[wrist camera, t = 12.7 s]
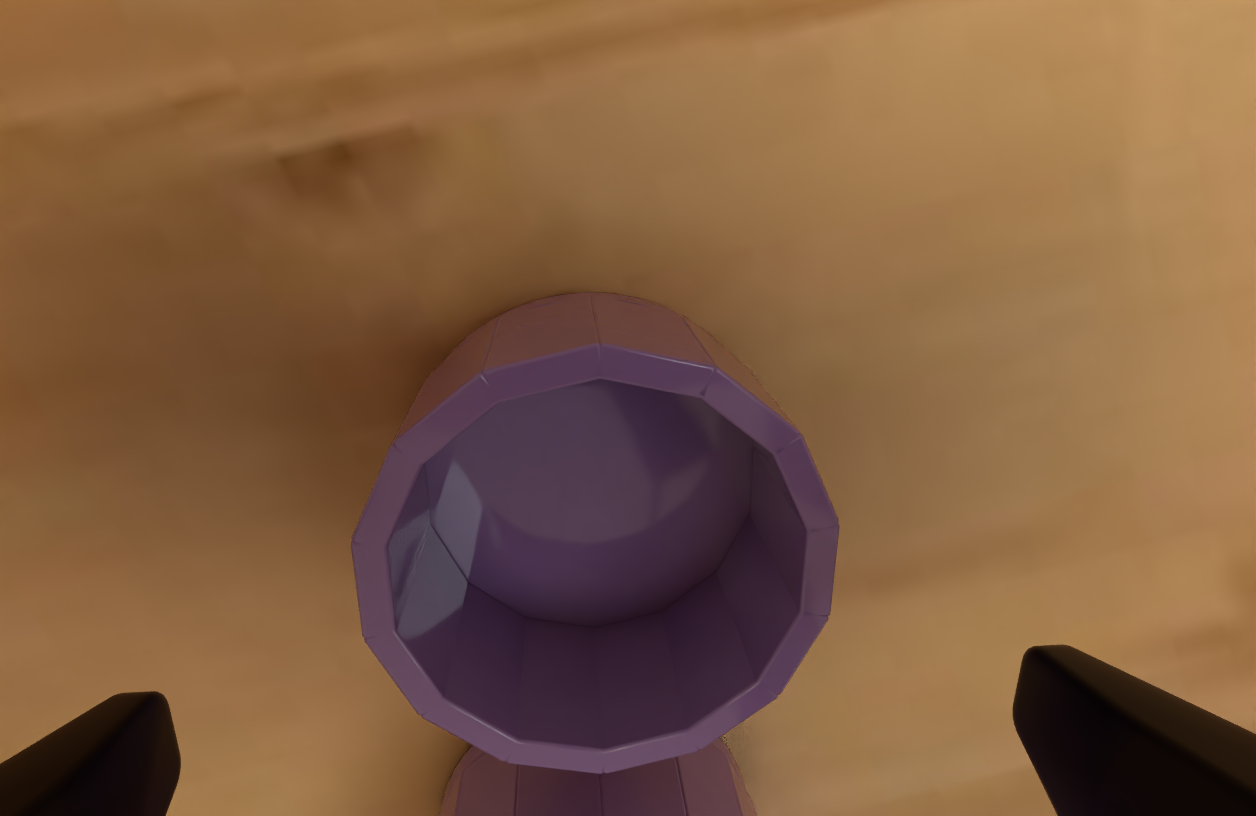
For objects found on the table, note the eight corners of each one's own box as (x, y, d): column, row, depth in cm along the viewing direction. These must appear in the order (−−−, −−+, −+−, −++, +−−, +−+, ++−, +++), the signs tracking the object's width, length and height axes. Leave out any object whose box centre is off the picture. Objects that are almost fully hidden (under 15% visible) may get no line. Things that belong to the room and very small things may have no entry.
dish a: (780, 285, 13) (860, 338, 9) (757, 619, 15) (816, 762, 11) (388, 289, 12) (324, 347, 9) (423, 635, 14) (381, 789, 11)
